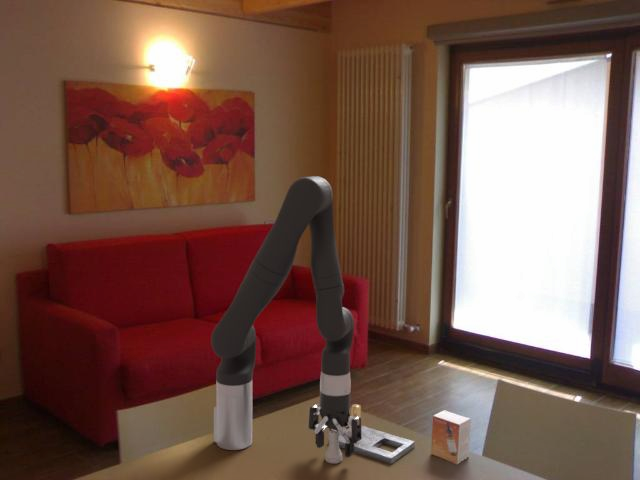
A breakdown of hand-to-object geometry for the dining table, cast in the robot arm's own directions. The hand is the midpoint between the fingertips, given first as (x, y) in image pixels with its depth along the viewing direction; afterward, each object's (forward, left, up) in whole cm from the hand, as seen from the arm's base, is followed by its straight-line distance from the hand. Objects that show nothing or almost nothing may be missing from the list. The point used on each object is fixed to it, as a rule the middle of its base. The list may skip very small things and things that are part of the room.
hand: (334, 451), depth 171 cm
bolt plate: (+3, +13, -2) cm, 13 cm away
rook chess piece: (0, 0, -3) cm, 3 cm away
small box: (+22, +20, -3) cm, 30 cm away
